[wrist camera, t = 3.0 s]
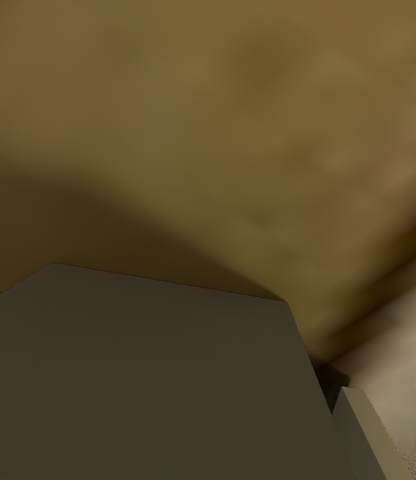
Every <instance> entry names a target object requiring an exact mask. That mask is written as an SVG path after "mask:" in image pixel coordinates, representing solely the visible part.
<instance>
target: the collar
mask: <svg viewBox="0 0 416 480" xmlns="http://www.w3.org/2000/svg"><path fill="white" fill-rule="evenodd" d="M0 480H357V479H356V476H355V474H354V471H353V469H352V466H351V464H350V461H349V458H348V456H347V453H346V451H345V448H344V446H343V443H342V441H341V438H340V435H339V433H338V430H337V428H336V425H335V423H334V420H333V418H332V415H331V413H330V410H329V407H328V405H327V402H326V400H325V397H324V395H323V392H322V390H321V387H320V384H319V382H318V379H317V377H316V374H315V372H314V369H313V367H312V364H311V362H310V359H309V356H308V354H307V351H306V349H305V346H304V344H303V341H302V339H301V336H300V333H299V331H298V328H297V326H296V323H295V321H294V318H293V316H292V313H291V311H290V308H289V305H288V303H287V302H284V301H278V300H272V299H266V298H260V297H254V296H248V295H242V294H236V293H230V292H224V291H218V290H212V289H206V288H201V287H195V286H189V285H183V284H177V283H171V282H165V281H159V280H153V279H147V278H141V277H135V276H129V275H123V274H117V273H112V272H106V271H100V270H94V269H88V268H82V267H76V266H70V265H64V264H58V263H51V264H49V265H48V266H46V267H44V268H43V269H41V270H39V271H38V272H36V273H34V274H33V275H31V276H29V277H28V278H26V279H24V280H23V281H21V282H19V283H18V284H16V285H14V286H13V287H11V288H9V289H8V290H6V291H4V292H3V293H1V294H0Z"/></svg>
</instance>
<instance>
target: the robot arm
mask: <svg viewBox="0 0 416 480" xmlns="http://www.w3.org/2000/svg"><path fill="white" fill-rule="evenodd" d="M332 418H333V420H334V423H335V425H336V428H337V430H338V433H339V435H340V438H341V441H342V443H343V446H344V448H345V451H346V453H347V456H348V458H349V461H350V464H351V466H352V469H353V471H354V474H355V476H356V479H357V480H414V478H413V476H412V475H411V473H410V471H409V469H408V468H407V466H406V464H405V462H404V461H403V459H402V457H401V455H400V454H399V452H398V450H397V448H396V447H395V445H394V443H393V441H392V439H391V438H390V436H389V434H388V432H387V431H386V429H385V427H384V425H383V424H382V422H381V420H380V418H379V417H378V415H377V413H376V411H375V410H374V408H373V406H372V404H371V403H370V401H369V399H368V397H367V396H366V394H365V392H364V390H361V389H355V388H349V387H343V386H341V389H340V392H339V395H338V398H337V401H336V404H335V407H334V410H333V413H332Z"/></svg>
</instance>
